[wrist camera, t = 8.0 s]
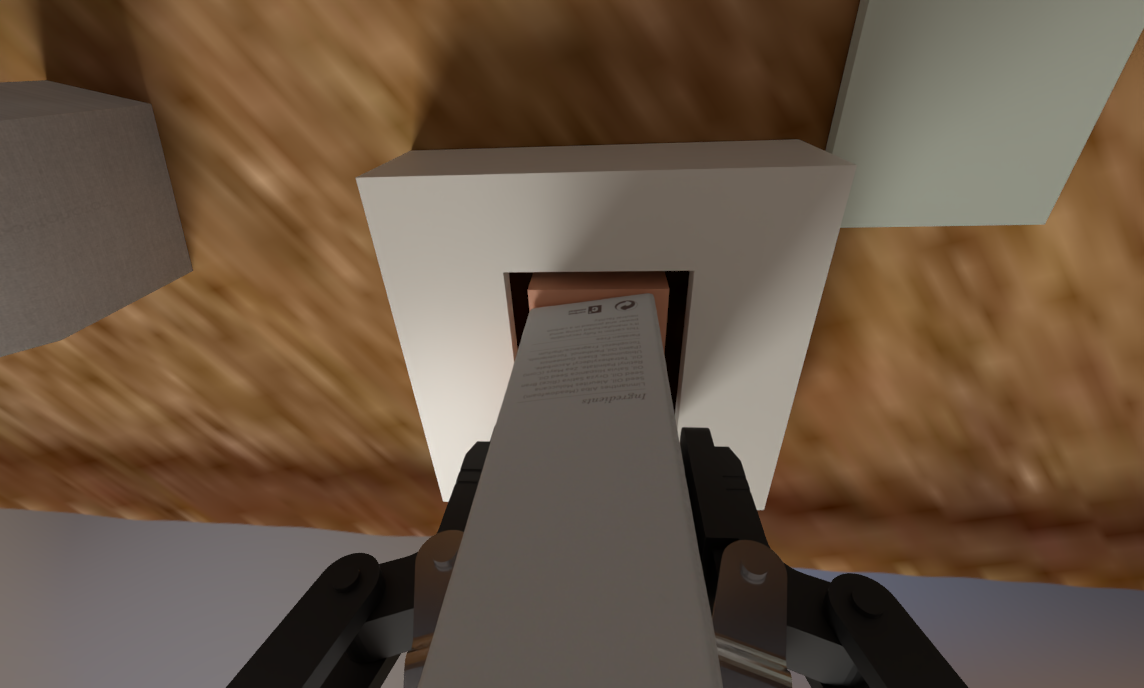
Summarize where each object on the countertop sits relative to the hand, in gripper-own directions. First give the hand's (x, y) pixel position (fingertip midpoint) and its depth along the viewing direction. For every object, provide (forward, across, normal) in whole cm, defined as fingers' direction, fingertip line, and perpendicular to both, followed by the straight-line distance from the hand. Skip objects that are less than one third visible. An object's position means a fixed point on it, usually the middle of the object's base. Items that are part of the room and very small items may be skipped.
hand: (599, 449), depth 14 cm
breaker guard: (+8, 0, 0) cm, 8 cm away
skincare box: (+4, 0, 0) cm, 4 cm away
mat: (+8, -12, -8) cm, 17 cm away
